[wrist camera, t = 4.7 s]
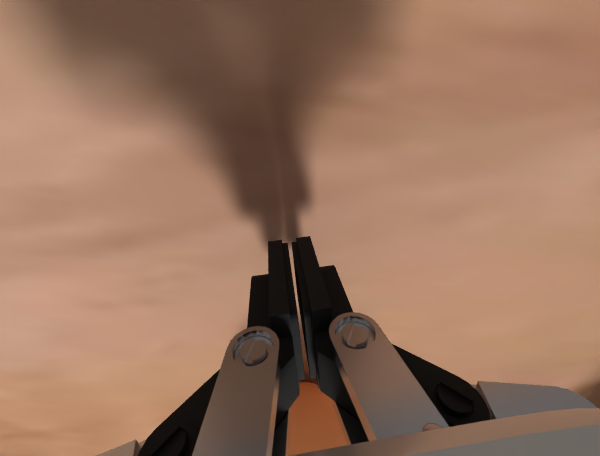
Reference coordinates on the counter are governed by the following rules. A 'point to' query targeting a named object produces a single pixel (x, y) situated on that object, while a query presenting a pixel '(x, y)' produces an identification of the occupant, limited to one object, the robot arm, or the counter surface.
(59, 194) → the counter surface
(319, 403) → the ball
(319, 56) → the counter surface
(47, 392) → the counter surface
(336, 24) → the counter surface
